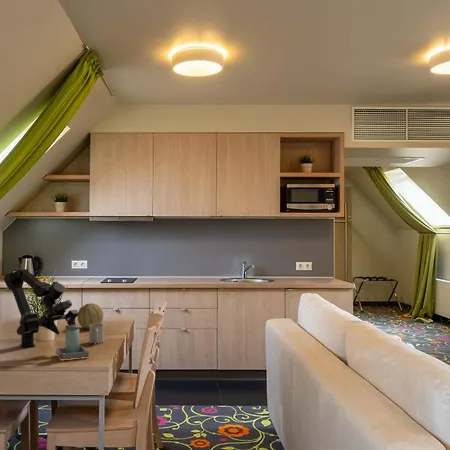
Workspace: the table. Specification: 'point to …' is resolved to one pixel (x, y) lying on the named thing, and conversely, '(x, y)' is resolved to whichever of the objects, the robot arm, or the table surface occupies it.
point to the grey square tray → (81, 353)
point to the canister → (72, 339)
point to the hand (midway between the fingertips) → (67, 332)
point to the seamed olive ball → (89, 315)
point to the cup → (96, 333)
